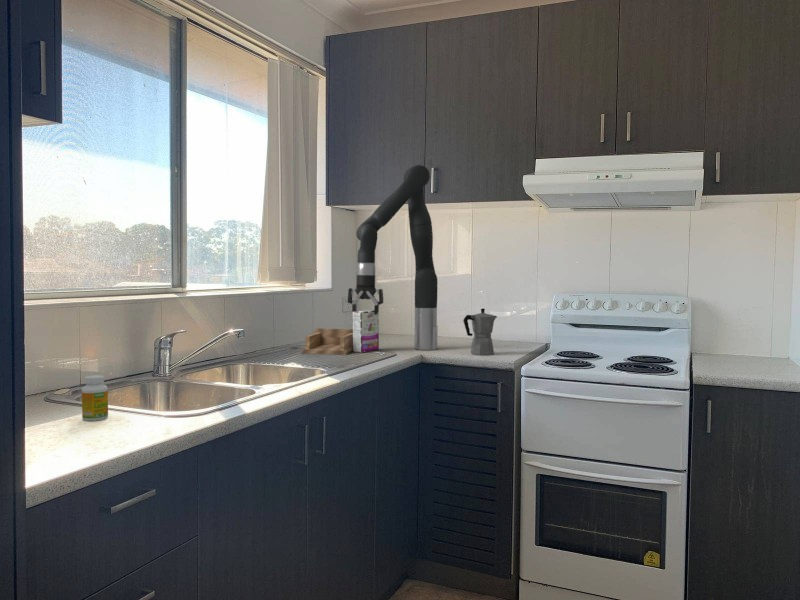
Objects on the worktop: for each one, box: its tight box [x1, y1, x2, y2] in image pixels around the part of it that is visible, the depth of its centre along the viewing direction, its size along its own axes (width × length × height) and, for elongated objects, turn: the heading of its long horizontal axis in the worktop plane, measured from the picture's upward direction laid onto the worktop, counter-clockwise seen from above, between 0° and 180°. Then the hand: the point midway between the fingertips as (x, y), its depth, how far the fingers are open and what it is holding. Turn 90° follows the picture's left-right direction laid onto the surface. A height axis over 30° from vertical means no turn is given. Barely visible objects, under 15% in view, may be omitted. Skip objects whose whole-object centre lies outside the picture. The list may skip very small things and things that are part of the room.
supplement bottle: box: [81, 374, 109, 422], centre depth 153 cm, size 5×5×10 cm
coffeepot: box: [462, 307, 498, 356], centre depth 263 cm, size 15×9×18 cm, turn 117°
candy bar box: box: [352, 309, 380, 353], centre depth 271 cm, size 11×5×16 cm, turn 143°
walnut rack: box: [301, 327, 353, 356], centre depth 270 cm, size 18×19×8 cm
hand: (365, 314), depth 270 cm, fingers open, 8 cm apart
